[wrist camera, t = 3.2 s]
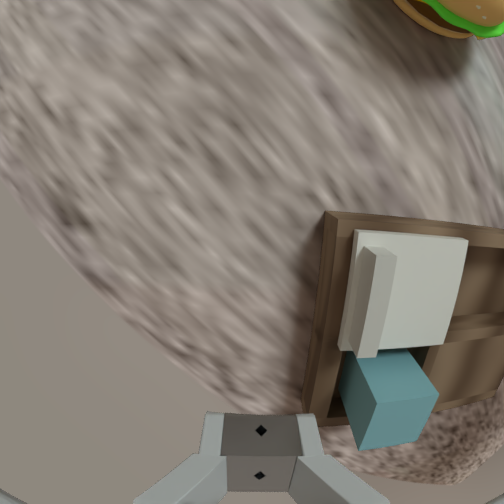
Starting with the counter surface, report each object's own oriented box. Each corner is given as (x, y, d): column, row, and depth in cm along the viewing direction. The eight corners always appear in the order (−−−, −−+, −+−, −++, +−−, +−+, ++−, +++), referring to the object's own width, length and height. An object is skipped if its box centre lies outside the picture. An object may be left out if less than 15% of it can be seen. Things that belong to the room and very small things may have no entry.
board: (521, 231, 20) (545, 240, 17) (477, 378, 25) (493, 396, 21) (325, 210, 20) (338, 219, 17) (300, 399, 25) (305, 427, 21)
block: (400, 340, 22) (439, 394, 15) (387, 384, 23) (416, 441, 16) (348, 342, 22) (377, 403, 15) (338, 388, 23) (358, 450, 16)
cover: (461, 237, 17) (486, 248, 14) (438, 338, 19) (456, 358, 16) (354, 229, 17) (371, 240, 14) (337, 344, 19) (347, 369, 16)
